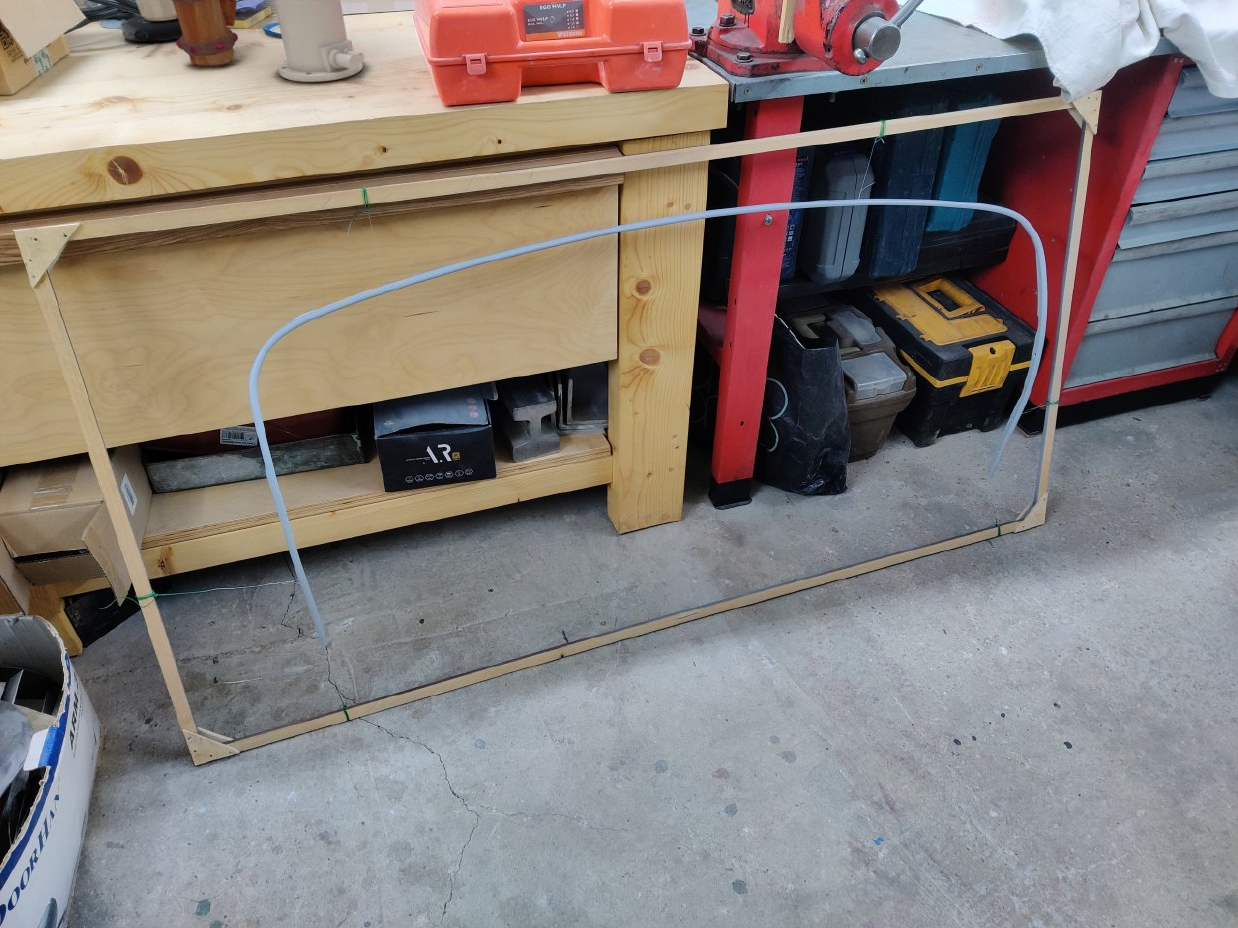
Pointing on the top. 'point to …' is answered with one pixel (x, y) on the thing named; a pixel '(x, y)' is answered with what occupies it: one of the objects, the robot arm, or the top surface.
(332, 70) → the robot arm
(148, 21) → the electronic device
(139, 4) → the bowl
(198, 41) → the mug
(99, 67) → the top surface
